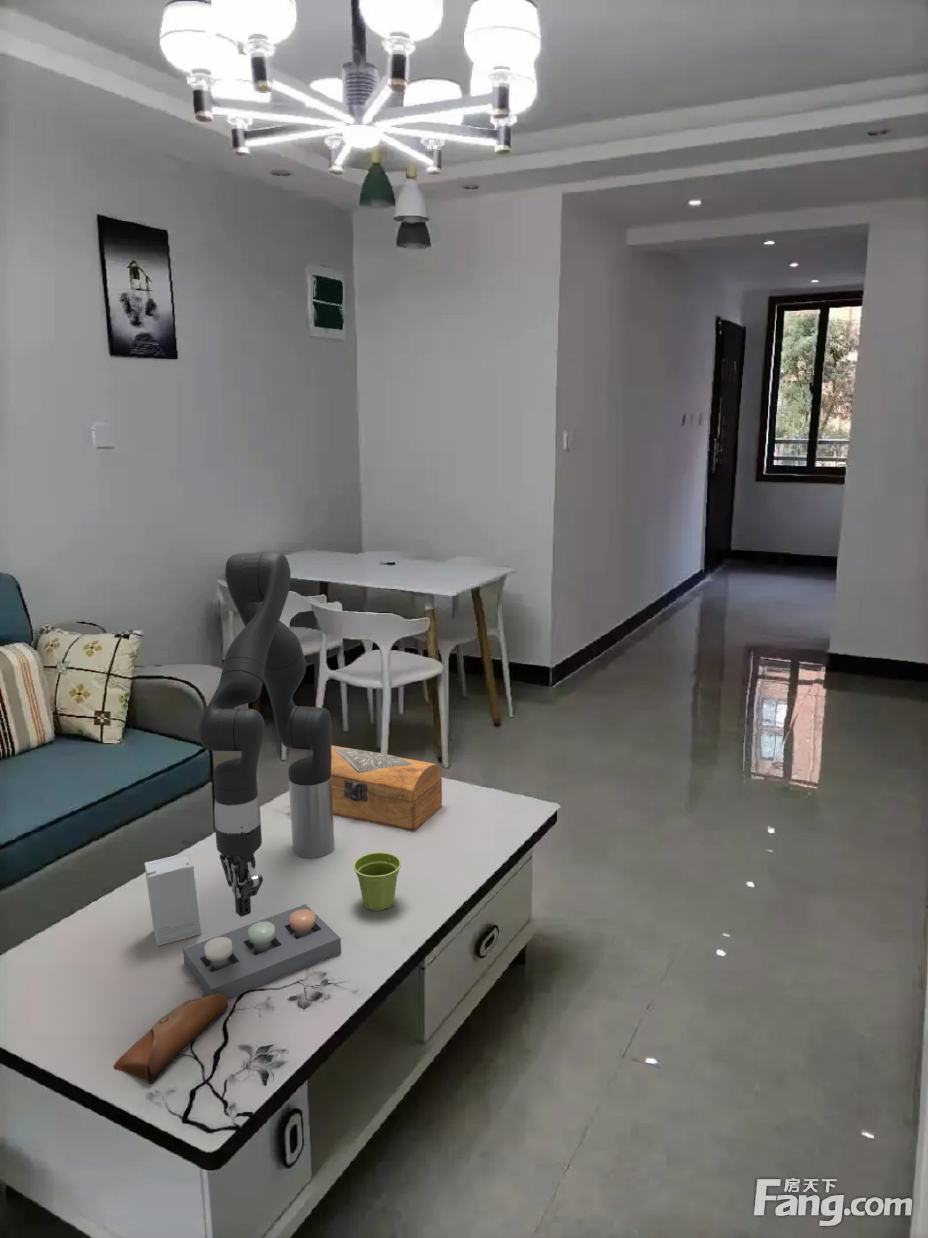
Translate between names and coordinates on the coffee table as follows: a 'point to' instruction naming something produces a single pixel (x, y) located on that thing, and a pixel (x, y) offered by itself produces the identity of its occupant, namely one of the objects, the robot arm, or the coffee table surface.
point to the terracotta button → (302, 922)
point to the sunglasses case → (170, 1037)
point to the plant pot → (377, 879)
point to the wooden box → (384, 788)
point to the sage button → (261, 936)
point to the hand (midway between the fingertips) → (243, 913)
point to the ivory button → (218, 952)
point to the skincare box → (173, 898)
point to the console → (262, 956)
